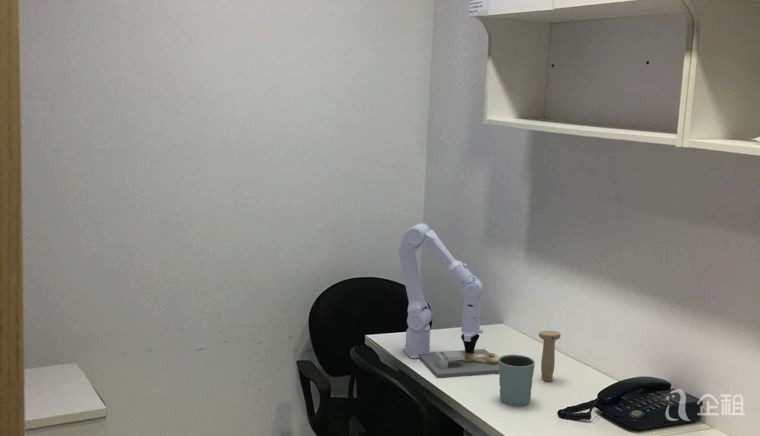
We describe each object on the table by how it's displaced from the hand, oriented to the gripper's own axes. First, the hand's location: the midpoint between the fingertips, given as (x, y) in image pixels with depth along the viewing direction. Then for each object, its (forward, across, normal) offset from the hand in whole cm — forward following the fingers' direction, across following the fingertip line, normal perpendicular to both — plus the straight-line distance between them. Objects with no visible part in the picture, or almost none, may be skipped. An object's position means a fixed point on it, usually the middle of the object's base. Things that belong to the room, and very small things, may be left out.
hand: (469, 356), depth 246 cm
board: (+2, -4, +2) cm, 4 cm away
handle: (+2, -9, -26) cm, 27 cm away
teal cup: (+2, -28, -17) cm, 33 cm away
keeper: (+1, -9, +5) cm, 10 cm away
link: (0, -2, -2) cm, 3 cm away
